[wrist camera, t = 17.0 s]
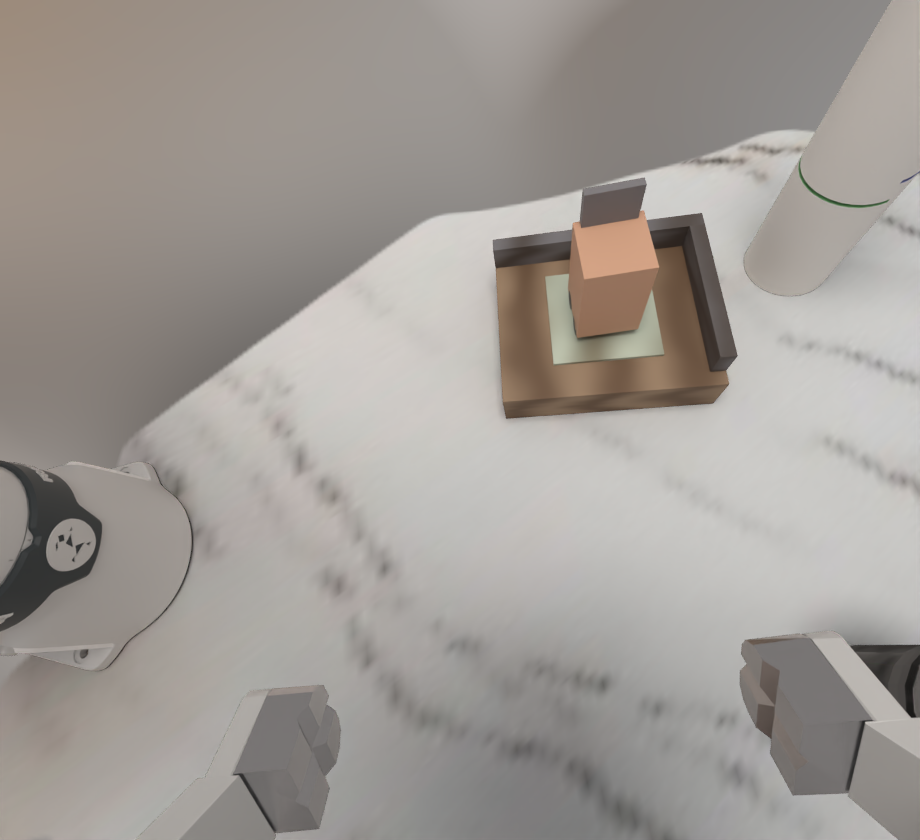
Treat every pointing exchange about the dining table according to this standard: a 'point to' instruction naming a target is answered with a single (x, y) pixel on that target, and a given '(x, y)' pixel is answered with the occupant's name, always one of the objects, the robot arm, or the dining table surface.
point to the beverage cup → (896, 672)
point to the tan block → (611, 260)
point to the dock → (614, 354)
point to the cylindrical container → (847, 163)
